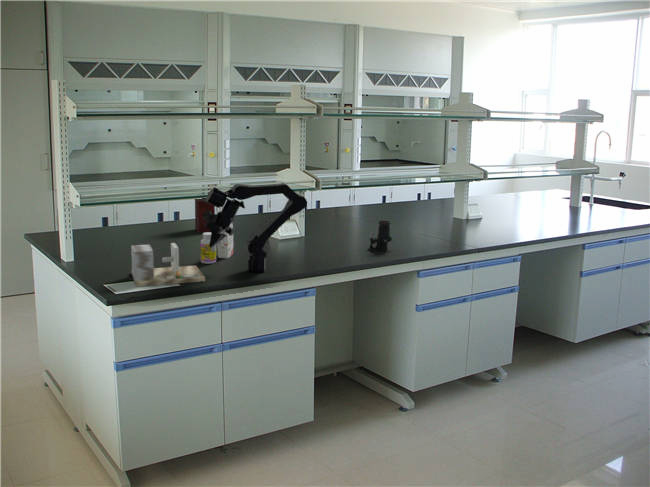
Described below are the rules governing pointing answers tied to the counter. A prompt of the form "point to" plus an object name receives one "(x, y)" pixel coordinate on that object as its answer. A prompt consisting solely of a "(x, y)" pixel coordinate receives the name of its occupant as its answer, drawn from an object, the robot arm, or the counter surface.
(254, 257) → the robot arm
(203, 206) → the toy vending machine
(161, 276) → the gauge frame
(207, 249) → the supplement bottle
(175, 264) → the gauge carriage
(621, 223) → the counter surface
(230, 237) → the ink cartridge box
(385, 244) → the scope
